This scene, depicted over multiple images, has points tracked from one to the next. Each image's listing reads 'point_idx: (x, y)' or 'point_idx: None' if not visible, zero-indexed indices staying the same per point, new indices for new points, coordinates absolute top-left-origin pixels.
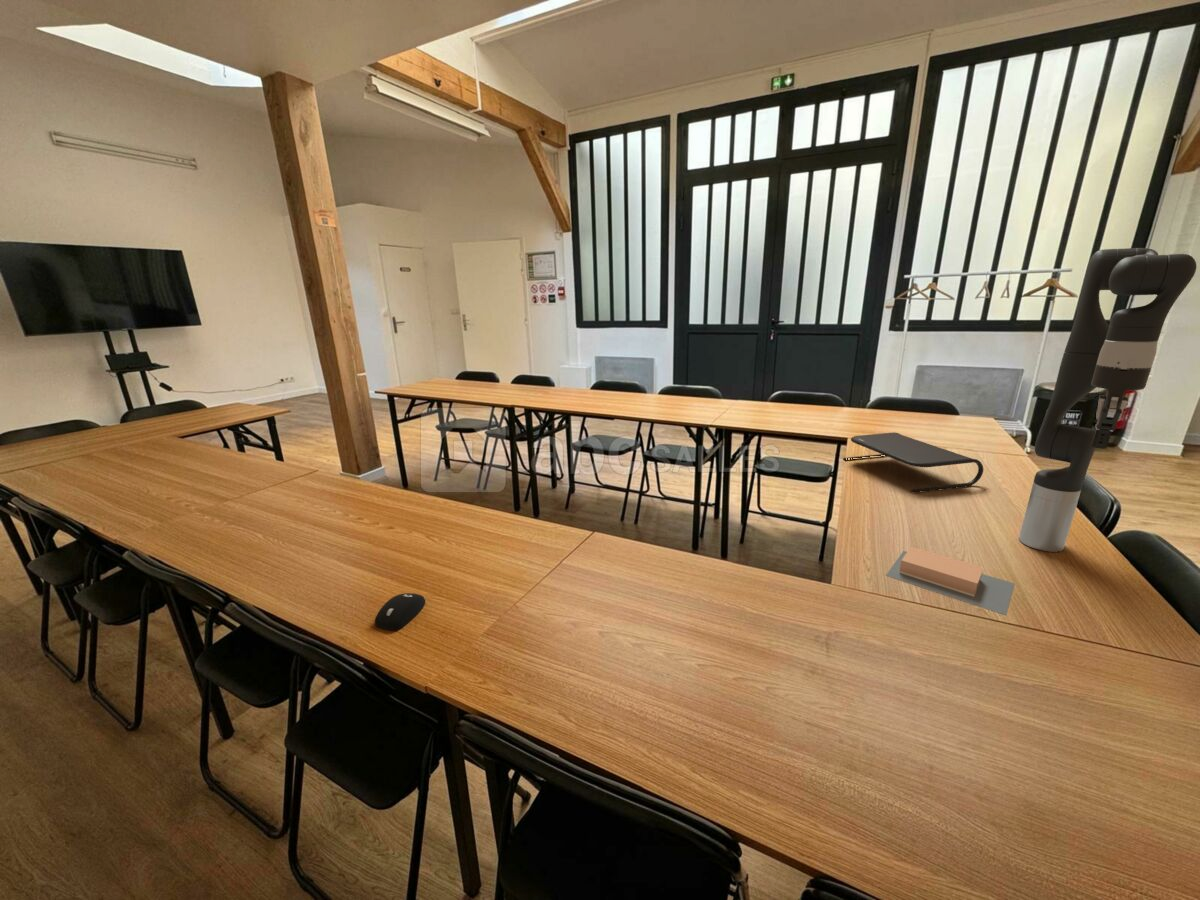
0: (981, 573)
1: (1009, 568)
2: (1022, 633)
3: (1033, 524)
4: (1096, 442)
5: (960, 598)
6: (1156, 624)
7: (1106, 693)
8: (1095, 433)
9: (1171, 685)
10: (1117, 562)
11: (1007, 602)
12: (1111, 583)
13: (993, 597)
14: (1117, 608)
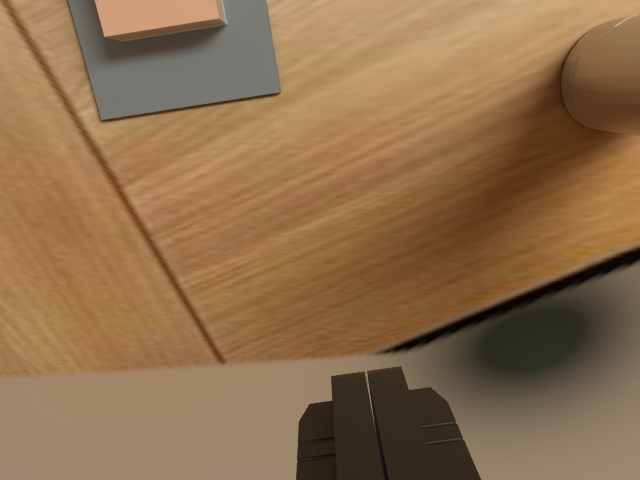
0: (183, 24)
1: (373, 57)
2: (69, 161)
3: (613, 48)
4: (301, 433)
5: (82, 19)
6: (331, 318)
7: (7, 294)
8: (341, 477)
9: (125, 352)
10: (608, 233)
11: (163, 106)
12: (467, 241)
13: (160, 76)
14: (345, 265)
